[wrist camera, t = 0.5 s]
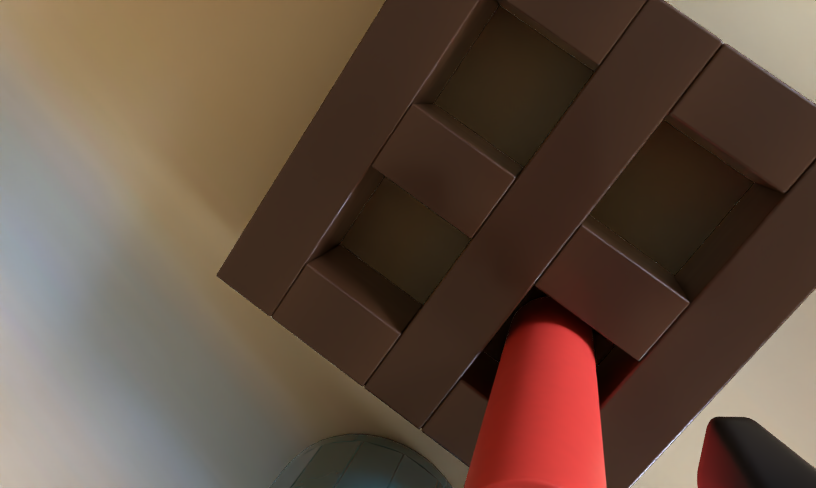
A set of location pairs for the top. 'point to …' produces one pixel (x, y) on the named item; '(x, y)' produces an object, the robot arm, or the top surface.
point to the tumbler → (359, 465)
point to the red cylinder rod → (542, 406)
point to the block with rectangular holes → (540, 220)
